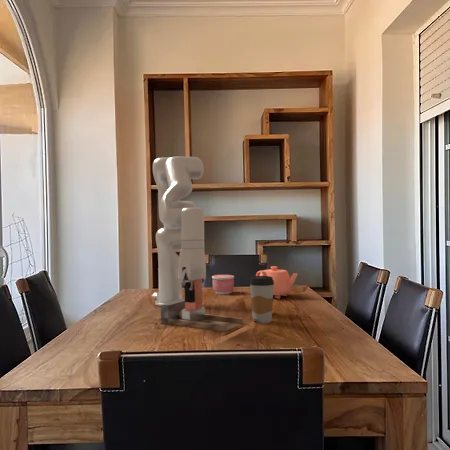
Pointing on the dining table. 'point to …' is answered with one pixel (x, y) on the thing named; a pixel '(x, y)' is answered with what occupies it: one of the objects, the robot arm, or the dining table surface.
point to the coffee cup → (262, 298)
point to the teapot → (279, 280)
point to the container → (223, 284)
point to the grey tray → (210, 322)
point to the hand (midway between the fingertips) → (193, 300)
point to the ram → (195, 304)
